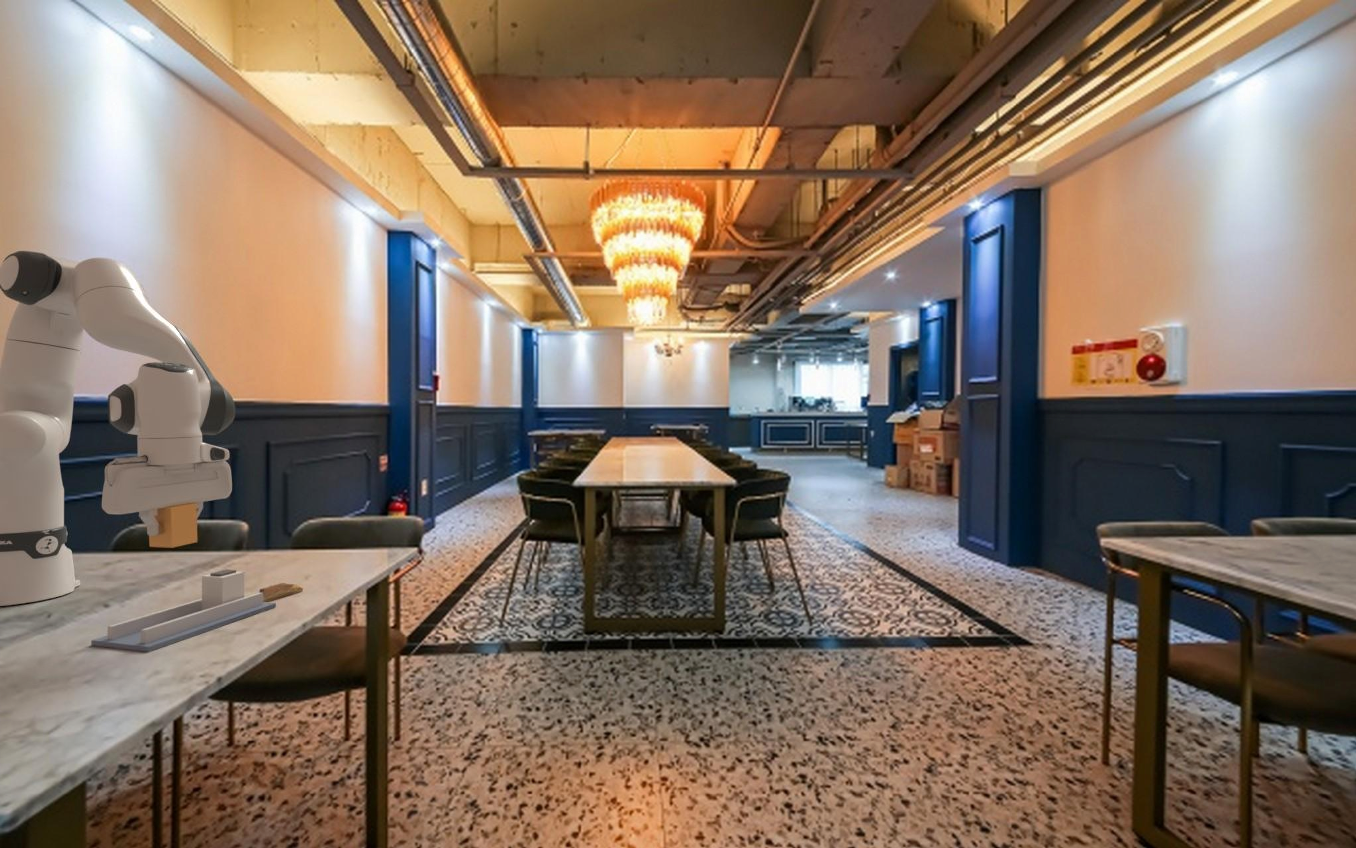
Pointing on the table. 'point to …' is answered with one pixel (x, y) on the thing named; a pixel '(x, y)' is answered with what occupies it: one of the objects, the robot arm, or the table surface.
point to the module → (176, 526)
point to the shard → (279, 591)
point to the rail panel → (188, 615)
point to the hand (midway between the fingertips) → (173, 531)
